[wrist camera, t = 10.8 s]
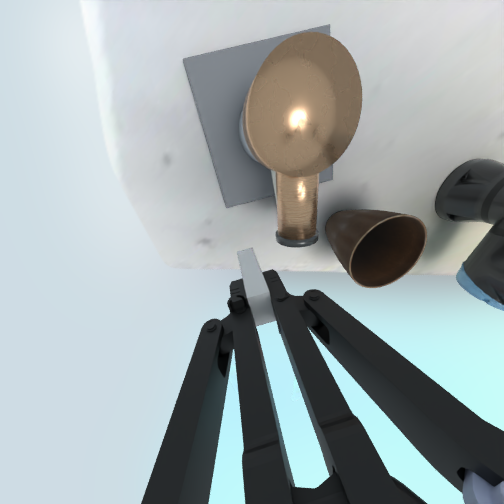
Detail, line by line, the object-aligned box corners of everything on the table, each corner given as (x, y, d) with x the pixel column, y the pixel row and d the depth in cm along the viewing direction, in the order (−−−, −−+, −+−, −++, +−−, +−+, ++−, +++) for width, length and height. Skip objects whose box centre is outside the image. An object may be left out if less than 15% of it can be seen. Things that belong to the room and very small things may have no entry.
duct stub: (330, 196, 45) (362, 208, 35) (231, 223, 44) (235, 243, 34) (326, 27, 32) (375, -27, 22) (183, 61, 31) (169, 19, 21)
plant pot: (371, 233, 52) (429, 263, 38) (322, 261, 53) (360, 300, 39) (359, 183, 45) (424, 197, 31) (302, 216, 46) (340, 244, 32)
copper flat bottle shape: (235, 63, 24) (242, 33, 18) (336, 56, 25) (374, 25, 19) (254, 236, 34) (262, 254, 29) (324, 225, 36) (345, 239, 30)
